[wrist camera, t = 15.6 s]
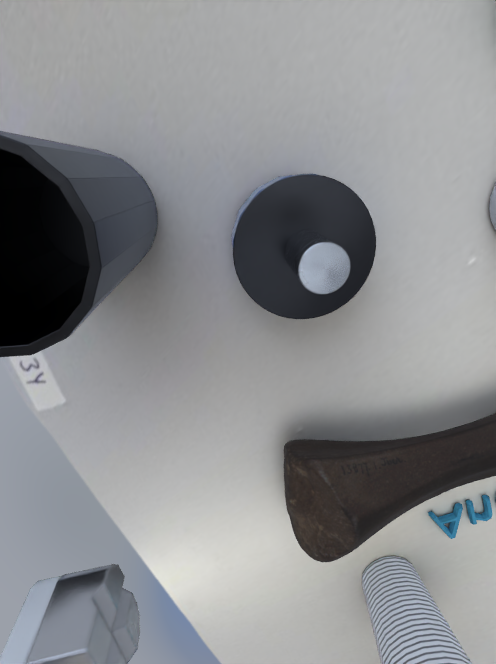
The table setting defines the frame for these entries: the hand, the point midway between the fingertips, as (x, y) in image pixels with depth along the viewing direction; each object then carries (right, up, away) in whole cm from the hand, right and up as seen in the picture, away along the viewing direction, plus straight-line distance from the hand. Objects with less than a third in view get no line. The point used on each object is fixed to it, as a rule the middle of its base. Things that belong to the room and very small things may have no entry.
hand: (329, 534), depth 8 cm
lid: (+2, +10, +22) cm, 24 cm away
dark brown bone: (+14, -5, +33) cm, 36 cm away
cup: (+14, -23, +39) cm, 47 cm away
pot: (-13, +13, +24) cm, 30 cm away
